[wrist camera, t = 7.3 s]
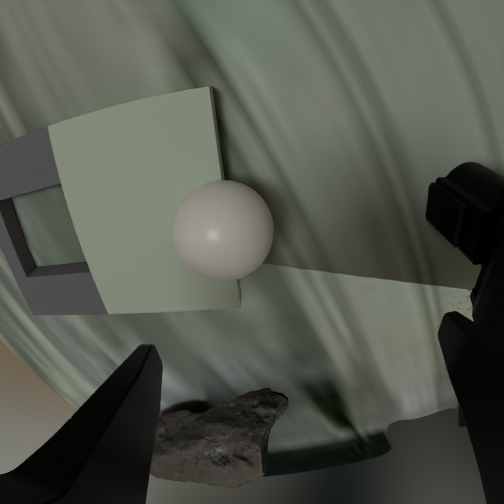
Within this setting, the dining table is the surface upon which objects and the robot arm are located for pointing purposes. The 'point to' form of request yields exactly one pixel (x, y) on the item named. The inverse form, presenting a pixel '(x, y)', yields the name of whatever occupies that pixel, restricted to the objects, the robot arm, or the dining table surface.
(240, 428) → the stone
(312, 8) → the dining table surface
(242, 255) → the ball
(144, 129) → the panel
